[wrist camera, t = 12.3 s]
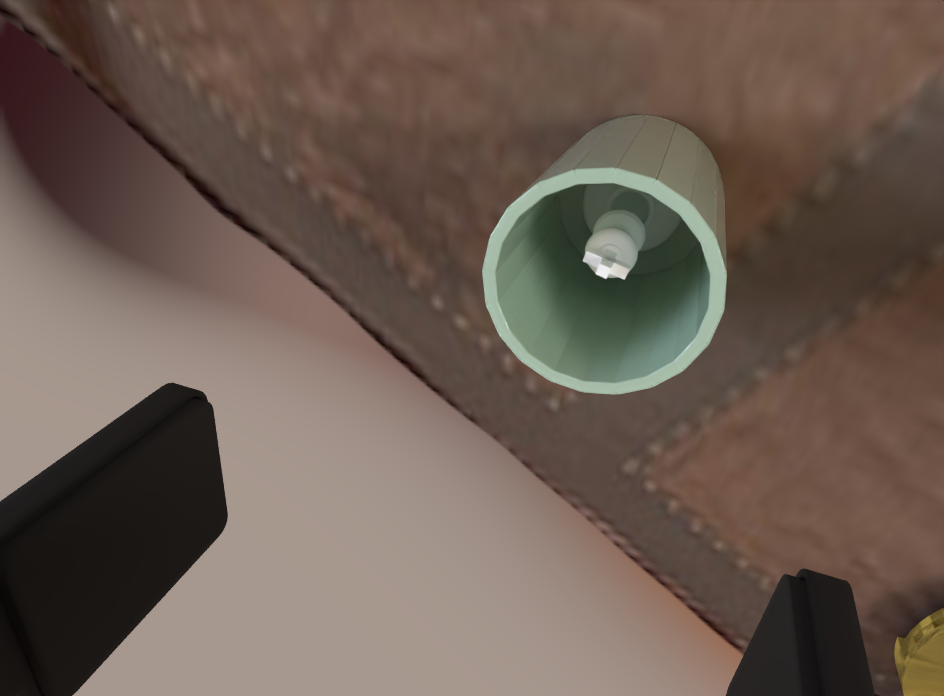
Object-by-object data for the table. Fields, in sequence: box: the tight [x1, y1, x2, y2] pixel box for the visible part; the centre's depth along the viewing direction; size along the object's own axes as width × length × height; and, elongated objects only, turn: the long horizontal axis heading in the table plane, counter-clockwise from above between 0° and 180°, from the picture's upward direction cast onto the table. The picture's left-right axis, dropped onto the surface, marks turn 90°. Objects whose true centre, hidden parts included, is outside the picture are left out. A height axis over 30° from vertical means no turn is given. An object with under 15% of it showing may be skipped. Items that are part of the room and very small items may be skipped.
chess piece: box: [582, 183, 682, 280], centre depth 28 cm, size 5×5×10 cm
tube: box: [482, 115, 727, 395], centre depth 27 cm, size 8×8×12 cm
